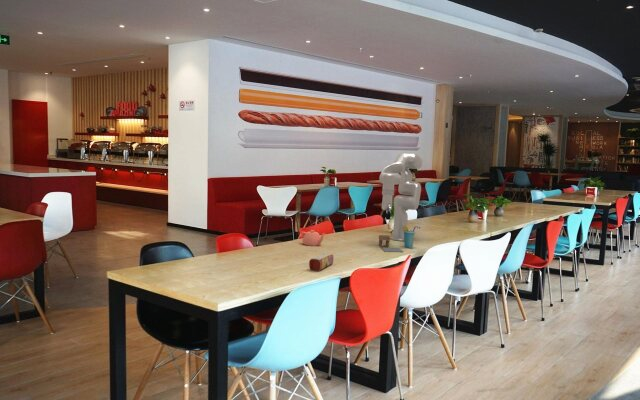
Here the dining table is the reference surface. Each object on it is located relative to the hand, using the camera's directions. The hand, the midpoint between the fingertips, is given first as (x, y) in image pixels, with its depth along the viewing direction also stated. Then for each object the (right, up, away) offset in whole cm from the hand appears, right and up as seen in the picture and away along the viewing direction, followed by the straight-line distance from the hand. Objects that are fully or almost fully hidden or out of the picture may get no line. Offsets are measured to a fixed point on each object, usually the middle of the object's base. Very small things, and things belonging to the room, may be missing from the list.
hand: (386, 218), depth 369 cm
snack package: (-43, -24, -68) cm, 84 cm away
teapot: (-48, -17, -3) cm, 51 cm away
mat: (+2, -20, -9) cm, 22 cm away
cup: (+15, -19, +3) cm, 25 cm away
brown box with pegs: (-2, -18, +2) cm, 19 cm away
